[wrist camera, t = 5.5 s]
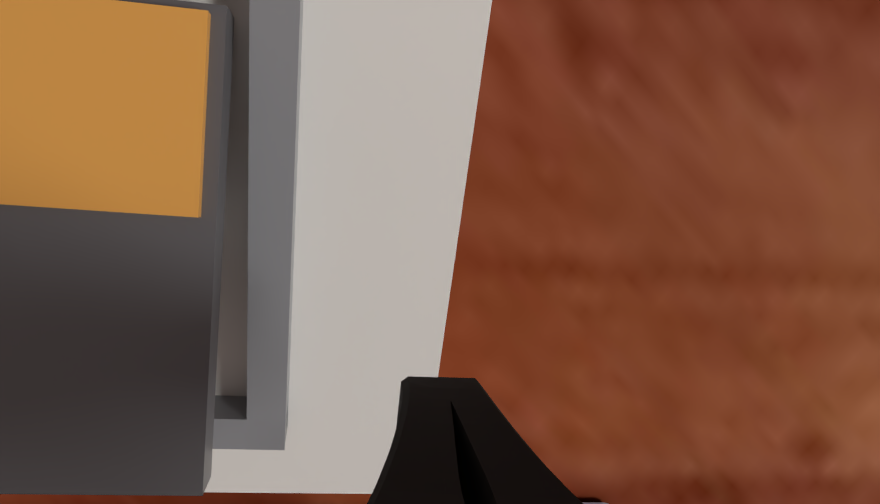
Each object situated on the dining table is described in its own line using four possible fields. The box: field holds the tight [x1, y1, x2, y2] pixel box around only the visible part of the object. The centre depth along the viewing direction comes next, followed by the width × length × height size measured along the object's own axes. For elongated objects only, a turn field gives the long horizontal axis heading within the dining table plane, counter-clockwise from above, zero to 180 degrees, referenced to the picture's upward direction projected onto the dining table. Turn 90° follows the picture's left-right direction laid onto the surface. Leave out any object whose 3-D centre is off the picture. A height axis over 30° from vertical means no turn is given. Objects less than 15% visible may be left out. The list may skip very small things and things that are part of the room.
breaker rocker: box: [0, 0, 234, 496], centre depth 14 cm, size 10×5×1 cm, turn 173°
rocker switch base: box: [180, 0, 492, 494], centre depth 17 cm, size 18×16×4 cm
